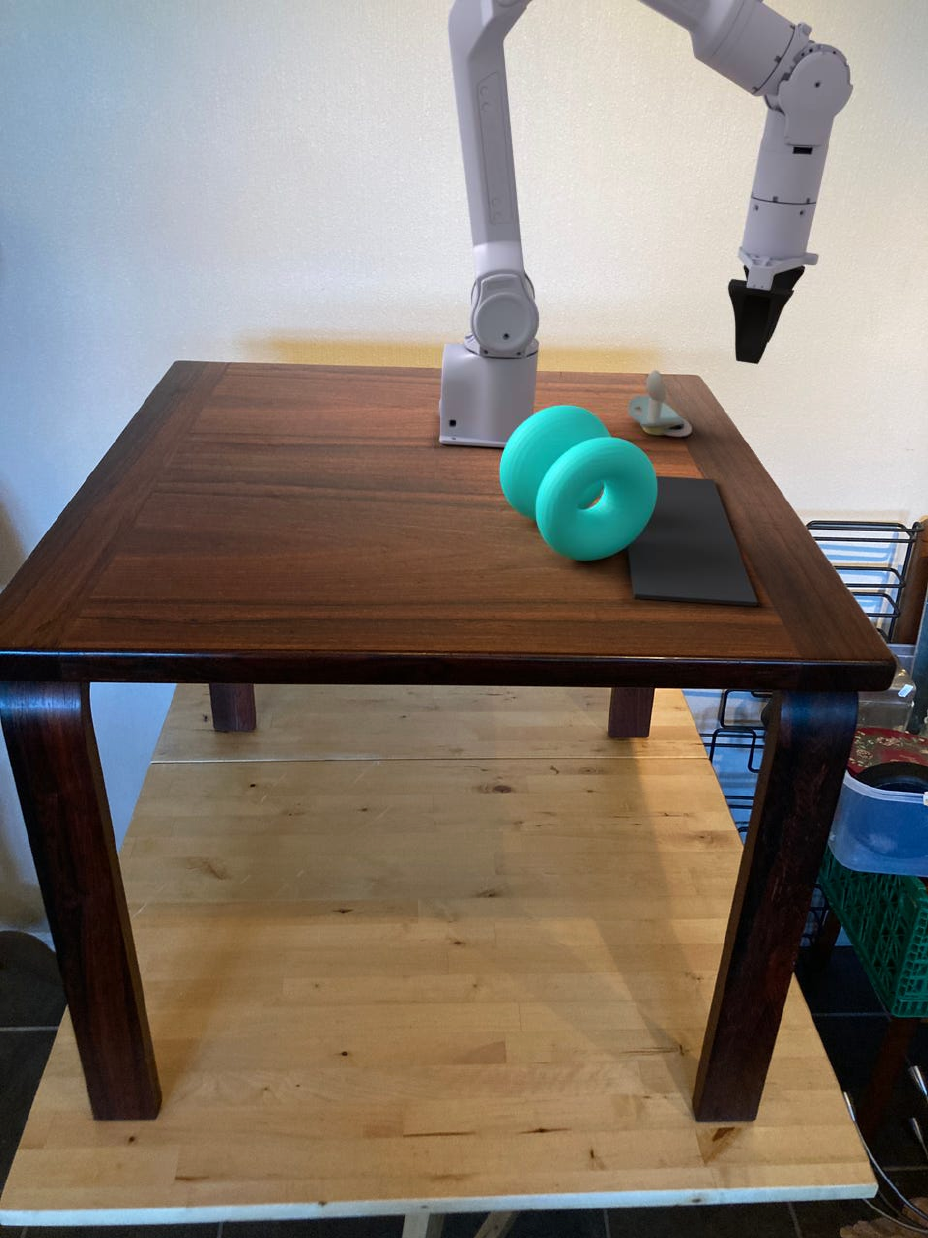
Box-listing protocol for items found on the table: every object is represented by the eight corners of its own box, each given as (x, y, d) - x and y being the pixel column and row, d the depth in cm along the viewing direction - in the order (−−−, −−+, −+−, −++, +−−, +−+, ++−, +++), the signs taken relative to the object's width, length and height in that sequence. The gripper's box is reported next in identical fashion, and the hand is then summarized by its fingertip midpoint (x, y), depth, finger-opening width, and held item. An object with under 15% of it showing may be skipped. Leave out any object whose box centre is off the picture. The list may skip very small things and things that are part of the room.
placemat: (634, 598, 72) (634, 593, 72) (615, 477, 91) (616, 473, 90) (756, 606, 72) (757, 602, 71) (712, 483, 90) (713, 479, 90)
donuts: (596, 505, 85) (609, 394, 80) (654, 557, 77) (673, 439, 72) (491, 519, 82) (497, 406, 77) (540, 576, 74) (552, 453, 69)
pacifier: (672, 416, 105) (620, 417, 104) (683, 359, 102) (630, 359, 100) (701, 442, 99) (647, 443, 98) (714, 382, 96) (657, 383, 94)
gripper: (823, 216, 80) (787, 378, 87) (836, 192, 91) (803, 337, 98) (736, 207, 82) (708, 366, 89) (759, 184, 93) (733, 327, 100)
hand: (753, 350), depth 94 cm, fingers open, 7 cm apart
